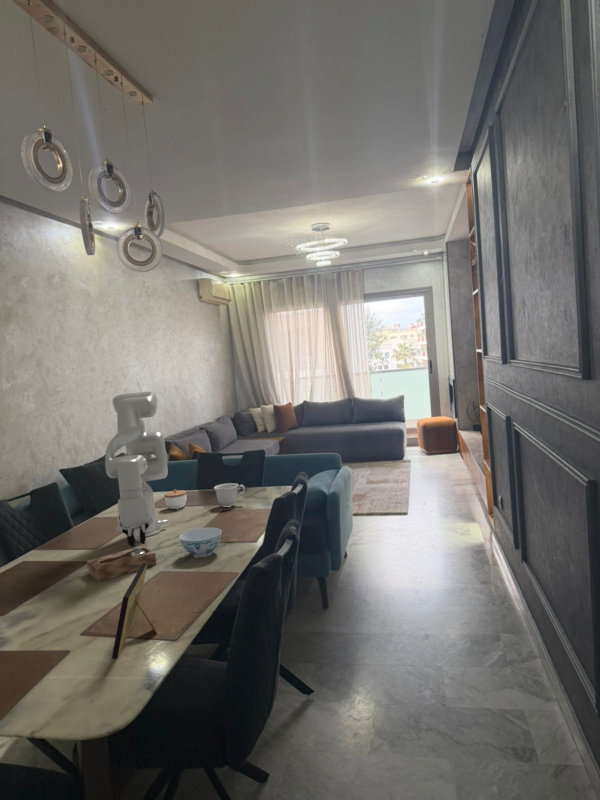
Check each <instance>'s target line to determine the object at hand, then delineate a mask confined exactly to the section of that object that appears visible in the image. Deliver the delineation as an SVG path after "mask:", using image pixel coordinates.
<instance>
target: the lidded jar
mask: <svg viewBox="0 0 600 800" xmlns="http://www.w3.org/2000/svg"><path fill="white" fill-rule="evenodd" d="M163 496H164V500H165V504H166V506H167V507H168V508H169V509H170V510H171V509H177V510H180V509H179V508H181V509H183V508H184V506H185V505H186V503H187V499H188V498H187V491H186V490H184V489H182V490H180V489H179V490H177V489H176V488H175V489H173V490H172V491H168V492H166V493H164V495H163ZM182 507H183V508H182Z"/></svg>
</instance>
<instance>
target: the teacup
mask: <svg viewBox="0 0 600 800" xmlns="http://www.w3.org/2000/svg"><path fill="white" fill-rule="evenodd" d="M241 488H242V489H243V490H242V491H241V492H239V493H238V491H239V490H240V489H241ZM213 489H214V490H215V493H216V497H217V501H218V504H219V505H220V504H221V505H222V506H231V505H233V504H234V505H235V503H236V502H237V500H238V498H239V496H241V495H243V494H244V493H245V491H246V488H245V485H243V484H240V485H239V483H236V482H235V483H234V482H233V483H232V482H231V483H230V482H228V483H221V484H217V485H215V486H214V487H213Z"/></svg>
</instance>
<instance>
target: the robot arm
mask: <svg viewBox="0 0 600 800" xmlns="http://www.w3.org/2000/svg"><path fill="white" fill-rule="evenodd" d="M112 406H113V409H114V411H115V413H116V418H117V422H116V424H117V432H116V434H115V435H114V436H113V437H112V438H111V439H110V441H109V442H108V444H107V447H106V449H105V455H104V456H105V467H104V468H105V472H106V475H107V477H109V478H111V479H118V487H119V488H118V489H119V495H120V498H119V499H118V500H117V525H116V528H115V531H117V532H119V533H123V534H124V535H126V539H127V544H128V546H130V547H131V548H134V539H133V536H132V534H131V528H132V527H136V526H139V527H140V532H141V541H142V543H141V544H142V545H145V544H146V538H147V537H151V536H155V535H156V534H159V533H160V532H161V530H162V529H161V526H164V525H167V524H168V520H167V519H163V520H162V519H159V520H157V518H156V508H155V498H154V491H153V489H152V487H151V486H150V485H149V484H148V483H147V482H149V481H158V480H164V479H166V478H167V476H168V472H169V470H168V461H167V460H168V459H167V458H168V457H167V450H166V443H165V438H164V437H165V436H164V435H163V434H162V432H159V431H149V432H148V431H147V432H146V428H145V421H144V418H147V419H148V418H152V417H153V418H154V417H155V415H156V414H157V408H158V399H157V396H156V394H155V393H154V392H153V391H142V392H130V393H128V392H127V393H122V394H118V395H116V396H113V398H112ZM124 446H125V450H126V454H127V455H124V456H123V455H122V456H121V455H120V456H116V457H115V454H116V453H117V452H118V451H119V450H120V449H121V448H123V447H124ZM151 455H153V456H155V457H147V458H145V456H151Z"/></svg>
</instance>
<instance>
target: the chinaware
mask: <svg viewBox="0 0 600 800" xmlns="http://www.w3.org/2000/svg"><path fill="white" fill-rule="evenodd" d="M221 538H222V529H220V528H217V527H201V528H200V527H199V528H195V529H191V530H188V531H186V532H183V533H182V534H180V535H179V541H180V543H181V545H182V547H183V548H184V550H185V551H187V552H188V553H189V554H192V556H193V557H194V558H195V557H204V558H207V557H206V556H208V557H210V556H212V555H213V551H214V550H216V549H217V547H218V546H219V544H220V542H221ZM209 555H210V556H209Z"/></svg>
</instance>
